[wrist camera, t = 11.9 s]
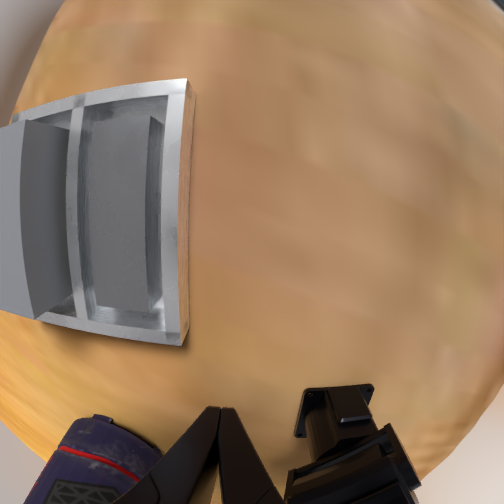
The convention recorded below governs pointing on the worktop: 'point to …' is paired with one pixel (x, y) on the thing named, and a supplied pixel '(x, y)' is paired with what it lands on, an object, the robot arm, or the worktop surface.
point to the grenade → (93, 465)
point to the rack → (126, 209)
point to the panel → (33, 218)
